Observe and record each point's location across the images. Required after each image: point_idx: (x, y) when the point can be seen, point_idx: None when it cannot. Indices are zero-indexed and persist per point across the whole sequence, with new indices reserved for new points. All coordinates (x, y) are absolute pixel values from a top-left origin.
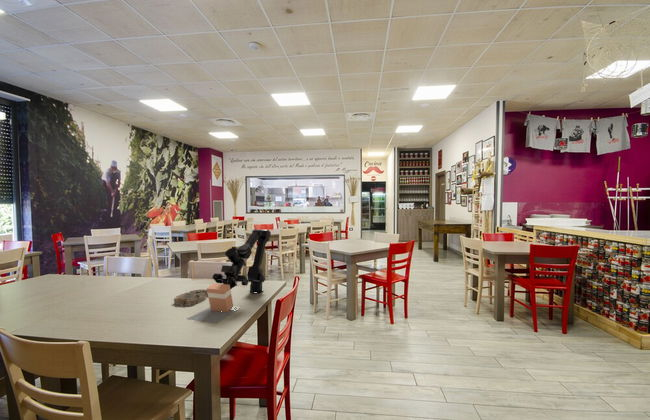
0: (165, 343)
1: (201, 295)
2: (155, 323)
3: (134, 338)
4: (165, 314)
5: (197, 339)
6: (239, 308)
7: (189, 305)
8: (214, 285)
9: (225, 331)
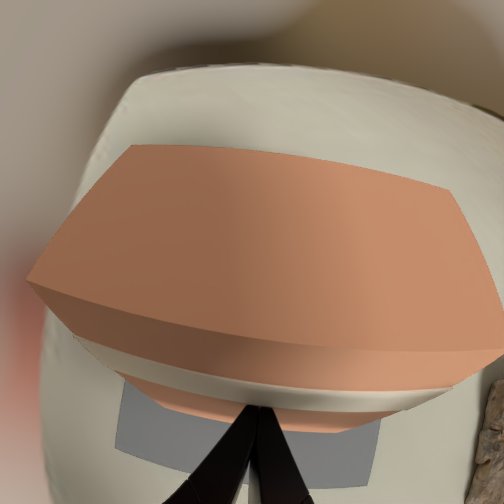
0: (285, 69)
1: (501, 486)
2: (447, 164)
3: (389, 90)
4: (499, 250)
5: (206, 84)
6: (127, 412)
7: (498, 380)
8: (426, 267)
9: (130, 130)
